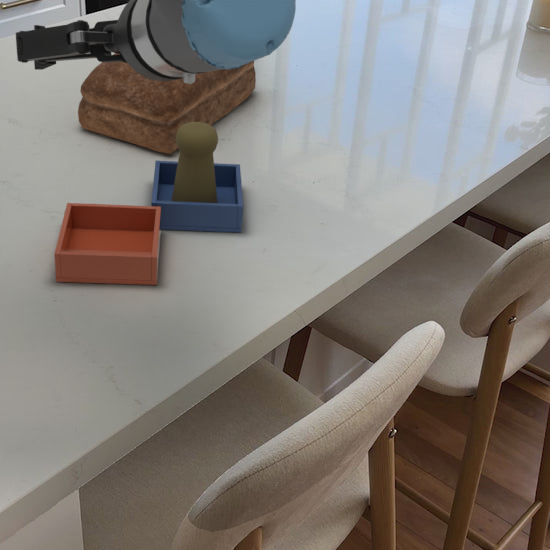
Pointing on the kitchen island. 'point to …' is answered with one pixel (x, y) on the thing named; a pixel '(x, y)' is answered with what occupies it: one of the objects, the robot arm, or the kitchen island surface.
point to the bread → (158, 102)
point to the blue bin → (194, 213)
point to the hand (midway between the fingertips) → (105, 56)
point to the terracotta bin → (109, 244)
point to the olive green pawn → (195, 164)
